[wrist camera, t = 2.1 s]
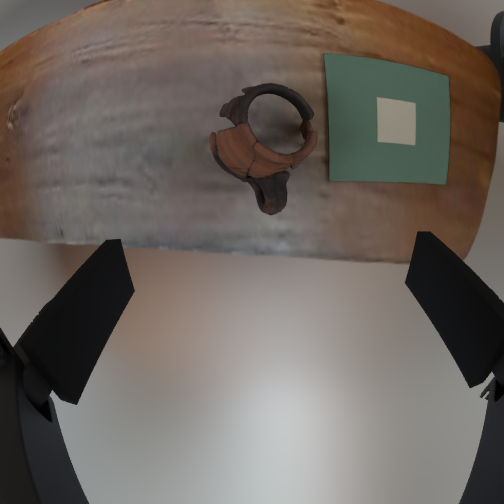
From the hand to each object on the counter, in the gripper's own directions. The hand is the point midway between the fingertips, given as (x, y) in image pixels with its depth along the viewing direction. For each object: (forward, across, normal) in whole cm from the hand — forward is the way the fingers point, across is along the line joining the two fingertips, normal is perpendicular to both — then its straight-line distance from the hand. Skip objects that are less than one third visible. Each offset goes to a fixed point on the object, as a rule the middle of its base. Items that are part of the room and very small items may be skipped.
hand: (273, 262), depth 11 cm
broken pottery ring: (+19, 0, +3) cm, 19 cm away
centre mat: (+19, +15, +6) cm, 25 cm away
